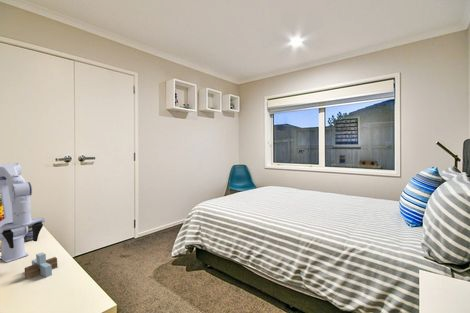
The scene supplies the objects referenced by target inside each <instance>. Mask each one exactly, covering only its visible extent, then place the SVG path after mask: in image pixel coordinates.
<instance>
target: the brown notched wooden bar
mask: <svg viewBox="0 0 470 313" xmlns="http://www.w3.org/2000/svg"><path fill="white" fill-rule="evenodd" d="M46 263H48V264H50V265H51V266H52V270H54V269H57V268H58V258H57V257H56V256H53V257H51V258H48V259H46ZM39 275H41V273H40V269H38V265H37V264H34V265H32V264H31V265H29V266H26V267H24V279H26V280H29V279H32V278H33V277H37V276H39Z"/></svg>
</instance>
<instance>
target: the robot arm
mask: <svg viewBox="0 0 470 313" xmlns="http://www.w3.org/2000/svg"><path fill="white" fill-rule="evenodd" d="M21 174H22V167H21V164H20V163H19V162H16V163H15V162H14V163H0V199H1V206H2V211H3V219H2V220H0V241H1V242H0V253H1V254H0V257H1V258H0V260H1V259H2V260H1V261H3V262H4V263H9V262H12V261H14V260H17V259H21V258H24V257H27V256H29V253H27V252H26V251H25V242H24V237H25V235H26V234H27V233H28V226H30V225H31V226H32V231H33V240H32V241H33V242H37V241H38V238H39V234H40V232H41V230H42V228H43V227H44V223H45V220H46V219H45V217H43V216H42V217H40V218H39V217H37V218H32V206H31V204H32V203H31V202H32V201H31V196H32V194H33V186H32V184H31V182H30V181H26V180H25V178H24V177H23V176H22V175H21Z"/></svg>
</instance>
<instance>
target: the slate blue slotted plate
mask: <svg viewBox="0 0 470 313" xmlns="http://www.w3.org/2000/svg"><path fill="white" fill-rule="evenodd" d="M46 260H47V256H46V253H44V252H39V253H37V254H35V258H34V259H31V265H34V264H37V265H38V269H40V273H41V274H40V275H41V276H43V277H44V278H48V277H50V276H52V275H53V269H52V266H51V265H50V264H48V263H46Z"/></svg>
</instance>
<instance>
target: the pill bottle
mask: <svg viewBox="0 0 470 313" xmlns="http://www.w3.org/2000/svg"><path fill="white" fill-rule="evenodd" d="M32 241H33V231H32V226H31V225H30V226H28V233H27V234H26V235H25V237H24V243H28V242H32Z"/></svg>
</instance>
